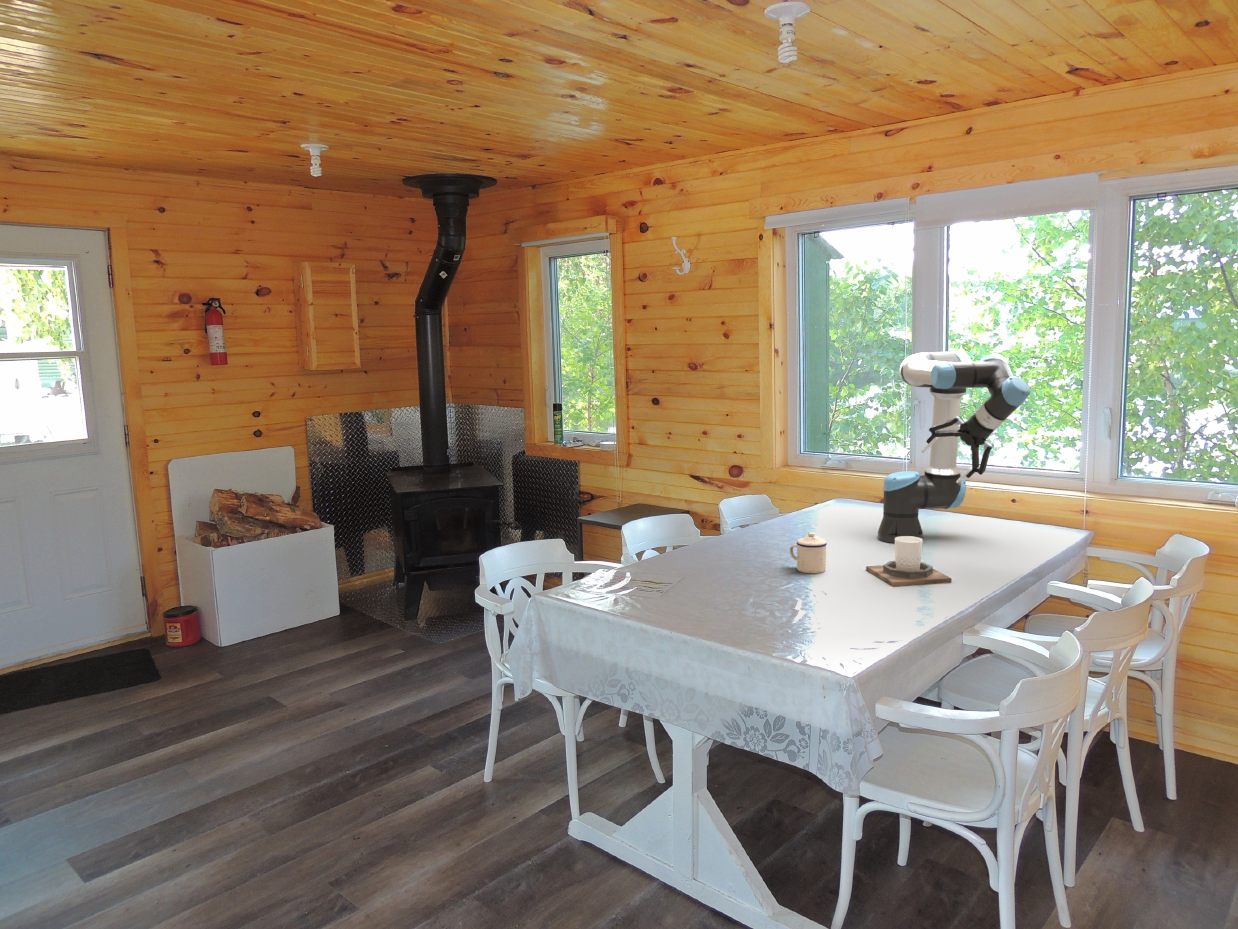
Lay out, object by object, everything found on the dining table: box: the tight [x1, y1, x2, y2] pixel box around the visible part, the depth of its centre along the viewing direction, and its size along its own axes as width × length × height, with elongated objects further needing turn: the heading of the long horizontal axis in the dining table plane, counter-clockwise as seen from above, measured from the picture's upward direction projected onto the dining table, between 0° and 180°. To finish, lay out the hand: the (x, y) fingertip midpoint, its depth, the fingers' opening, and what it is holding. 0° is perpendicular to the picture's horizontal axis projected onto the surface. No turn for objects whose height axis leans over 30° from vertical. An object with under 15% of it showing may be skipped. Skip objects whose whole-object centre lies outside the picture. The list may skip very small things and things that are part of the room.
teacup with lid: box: [789, 532, 828, 574], centre depth 274 cm, size 12×9×12 cm
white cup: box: [894, 536, 924, 571], centre depth 264 cm, size 8×8×10 cm
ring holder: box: [865, 560, 953, 587], centre depth 265 cm, size 18×18×3 cm
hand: (940, 465), depth 274 cm, fingers open, 13 cm apart
